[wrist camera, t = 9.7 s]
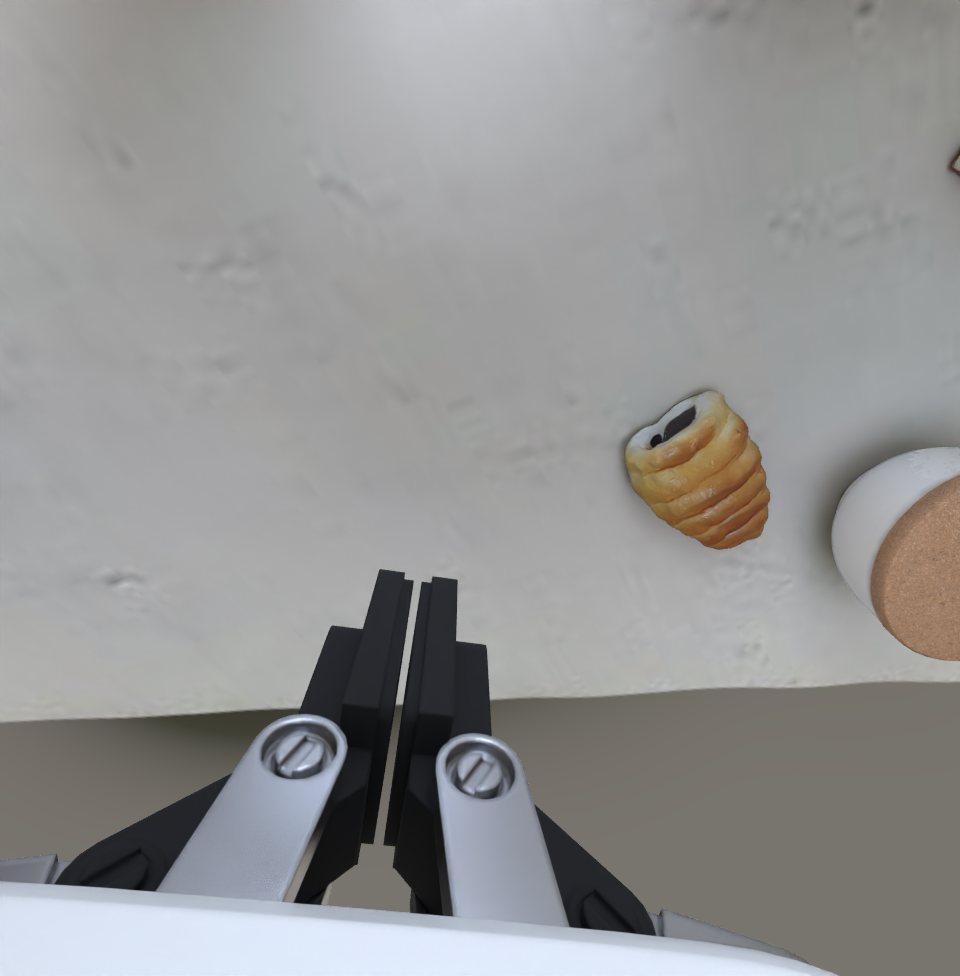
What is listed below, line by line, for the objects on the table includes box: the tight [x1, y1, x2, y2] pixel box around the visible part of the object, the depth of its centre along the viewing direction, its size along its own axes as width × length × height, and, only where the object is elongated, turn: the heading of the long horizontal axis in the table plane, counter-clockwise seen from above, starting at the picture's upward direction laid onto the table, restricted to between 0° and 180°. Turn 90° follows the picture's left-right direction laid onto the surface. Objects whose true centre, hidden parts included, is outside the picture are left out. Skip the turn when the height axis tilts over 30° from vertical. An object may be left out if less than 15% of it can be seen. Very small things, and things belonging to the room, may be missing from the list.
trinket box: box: [832, 447, 960, 661], centre depth 30 cm, size 11×11×9 cm
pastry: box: [625, 391, 770, 550], centre depth 32 cm, size 9×7×4 cm
